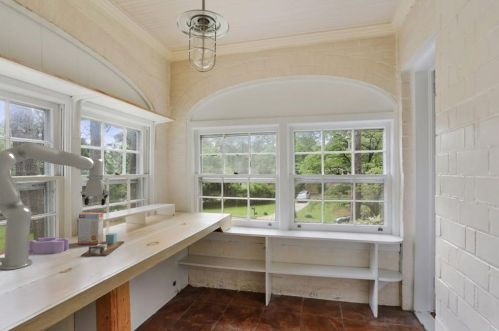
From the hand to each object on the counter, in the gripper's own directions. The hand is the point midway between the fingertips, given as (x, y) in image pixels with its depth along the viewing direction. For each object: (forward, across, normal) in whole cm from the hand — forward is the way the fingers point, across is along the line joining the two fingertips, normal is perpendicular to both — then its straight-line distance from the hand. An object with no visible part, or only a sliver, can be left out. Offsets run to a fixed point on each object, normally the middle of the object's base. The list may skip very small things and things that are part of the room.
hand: (94, 205), depth 166 cm
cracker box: (+28, -8, +15) cm, 33 cm away
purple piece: (+29, -25, -1) cm, 38 cm away
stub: (+27, +6, +12) cm, 30 cm away
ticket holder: (+28, +6, +2) cm, 29 cm away
